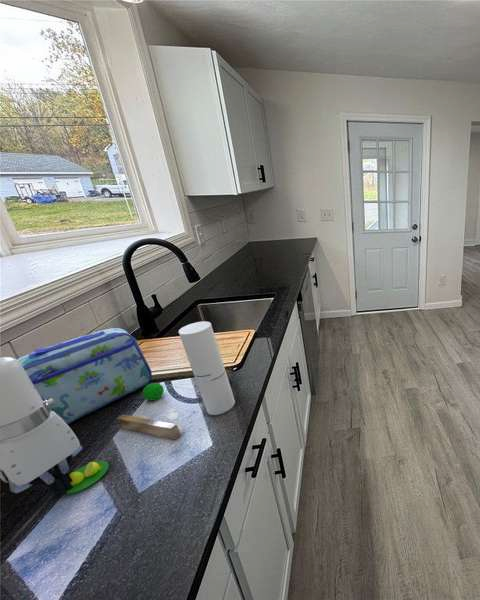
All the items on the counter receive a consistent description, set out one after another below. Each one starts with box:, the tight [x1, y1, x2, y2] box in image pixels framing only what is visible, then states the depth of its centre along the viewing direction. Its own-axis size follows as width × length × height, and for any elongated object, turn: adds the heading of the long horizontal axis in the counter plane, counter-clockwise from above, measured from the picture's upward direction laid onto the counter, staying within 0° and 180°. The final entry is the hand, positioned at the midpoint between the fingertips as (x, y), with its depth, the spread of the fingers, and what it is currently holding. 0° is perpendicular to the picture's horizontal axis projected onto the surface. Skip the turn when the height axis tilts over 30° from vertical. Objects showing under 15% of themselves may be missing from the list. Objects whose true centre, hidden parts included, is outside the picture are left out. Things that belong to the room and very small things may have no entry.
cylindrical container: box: [178, 321, 236, 416], centre depth 84 cm, size 7×7×25 cm
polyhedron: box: [141, 382, 165, 401], centre depth 93 cm, size 5×5×5 cm
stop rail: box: [116, 413, 182, 440], centre depth 80 cm, size 18×2×4 cm, turn 75°
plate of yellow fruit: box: [65, 460, 110, 495], centre depth 68 cm, size 8×8×3 cm
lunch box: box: [16, 327, 153, 426], centre depth 89 cm, size 26×11×21 cm, turn 144°
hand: (63, 490), depth 65 cm, fingers closed
